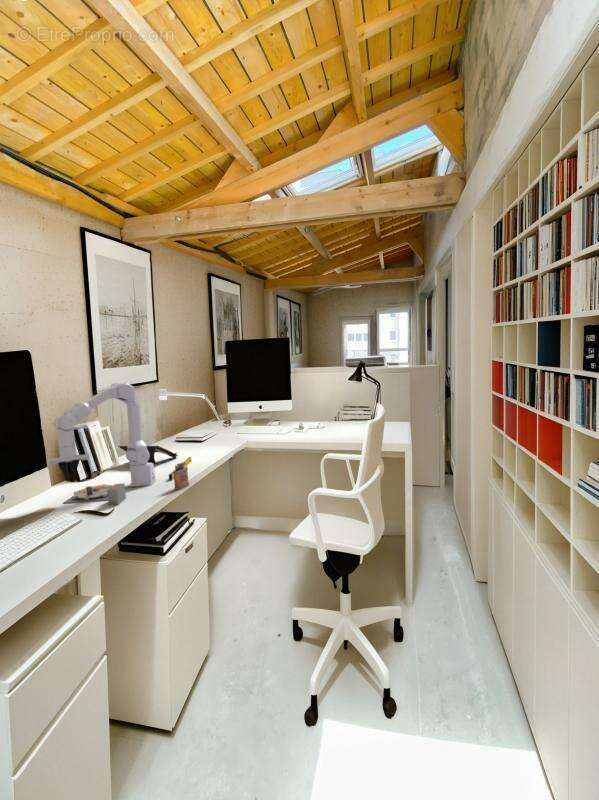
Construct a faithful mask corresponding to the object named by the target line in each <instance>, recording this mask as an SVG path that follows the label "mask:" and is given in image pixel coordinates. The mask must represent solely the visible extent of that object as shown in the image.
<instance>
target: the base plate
mask: <svg viewBox="0 0 599 800" xmlns="http://www.w3.org/2000/svg"><path fill="white" fill-rule="evenodd" d="M127 487H128V486H127V485H125V489H126V488H127ZM73 496H74V495H72V496H71V497H69V498H68V499H66V500H65V501H64V502H62V504H64V505H65V504H76V503H77V504H78V503H91V502H105V501H108V495H107V497H100V498H94V499H89V500H85V499H73Z"/></svg>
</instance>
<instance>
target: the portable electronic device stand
mask: <svg viewBox="0 0 599 800" xmlns="http://www.w3.org/2000/svg"><path fill="white" fill-rule="evenodd" d="M127 446H128V445H119V446H118V448H119V449H121V450H123V451H125V453H126V452H127V449H128V447H127ZM147 450H148V452H149V454H150V457H149V460H148V461H147V462H148V463H155V464H156V460H155V454H156V453H160V454H163V455H165V456H168V457H171V458H173V459H176V458H177V457H179V456H178V454H177V453H178V452H172V451H170V450H168V449H166V448H164V447H162V446H159V445H147Z"/></svg>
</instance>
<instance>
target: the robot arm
mask: <svg viewBox="0 0 599 800" xmlns="http://www.w3.org/2000/svg"><path fill="white" fill-rule="evenodd" d="M109 399H116V400H119V401H121V402H123V404H125V405H126V407H127V408H126V409H127V421H128V423H127V424H128V434H129V435H128V436H129V441H128V443H127V445H126V446H127V447H128V449H127V452H126V451H125V458H126V459H127V461H129V462H128V463H129V471H130V472H129V473H130V481H131V483H130V484H129V485H128V486H127V487H130V488H131V487H142V486H144V487H145V486H152V485H153V483H155V482H156V481H157V479H156V472H155V466H154V465H155V464H153V463H148V462H147V461H148V460H149V457H150V454H149V452H148V450H147V446H148V445H147V444H146V442H145V441H144V437H143V436H144V435H143V422H142V407H141V406H142V405H141V398H140V397H139V395H138V393H137V391H136V389H135V386H133V385H132V384H130V383H127V382H123V383H121V382H120V383H116V382H114V383H111V384H110V385H109V386H106V387H105V388H104V389H102V390H101V391H100V392H98V393H97V394H96V395H94V396H93V397H91V398H90V399H88V400H87V401H85V402H83V401H82V402H81V401H80V402H75V403H74V405H73V406H72V407H70V408H69V409H67V410H64V411H63V414H58V415H57V416H56V417H55V418H54V420H53V423H52V424H53V426H54V428H55V429H56V436H57V437H56V438H57V443H58V444H57V445H58V453H59V457H55V458H49V459H48V458H47V460H46V465H47V466H52V465H58V467H59V469H60V470H61V472H62V473H63V475H64V478H65V480H66V482H67V483H68V482H70V478H69V472H68V463H71V468H72V481H74V482H75V481H77V479H76V477H77V474H76V473H77V470H78V467H79V465H80V461H89V460H90V459H91V457H90V453H86V454H78V453H77V447H76V441H75V440H76V439H75V432H74V428H75V426H76V424H77V423H79V422H81V421H82V420H83V419H85V418H86V417H88V416H89V415H90V414H91V412H92V409H94V408H95V407H97V406H98V405H100V404H102V403H104V402H106V401H107V400H109Z"/></svg>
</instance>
